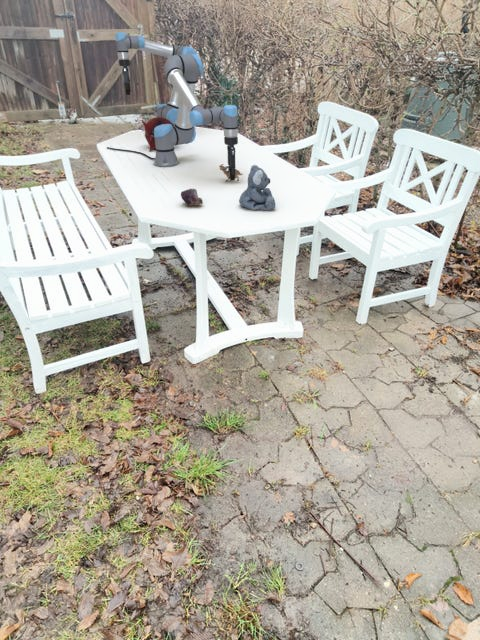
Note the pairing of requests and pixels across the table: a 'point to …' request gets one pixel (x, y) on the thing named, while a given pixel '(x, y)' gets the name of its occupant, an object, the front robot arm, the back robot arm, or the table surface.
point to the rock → (191, 197)
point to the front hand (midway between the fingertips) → (231, 178)
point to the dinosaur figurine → (229, 172)
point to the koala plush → (257, 191)
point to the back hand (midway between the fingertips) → (128, 93)
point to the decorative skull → (150, 129)
